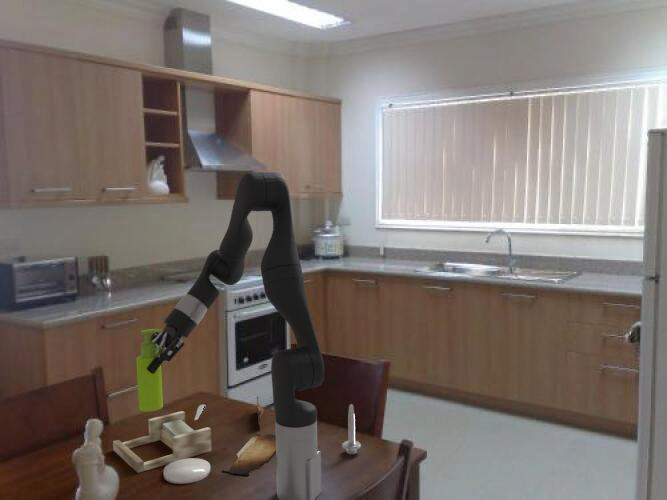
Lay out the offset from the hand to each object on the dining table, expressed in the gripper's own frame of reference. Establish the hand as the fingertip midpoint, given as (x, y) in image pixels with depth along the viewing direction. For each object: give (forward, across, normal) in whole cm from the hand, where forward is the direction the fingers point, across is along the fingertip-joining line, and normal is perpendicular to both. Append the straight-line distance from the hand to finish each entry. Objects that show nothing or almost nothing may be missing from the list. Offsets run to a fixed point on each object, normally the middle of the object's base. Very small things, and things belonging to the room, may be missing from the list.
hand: (144, 368), depth 154 cm
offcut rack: (+14, -3, +20) cm, 24 cm away
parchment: (+1, +15, +33) cm, 36 cm away
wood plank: (-9, -4, +42) cm, 44 cm away
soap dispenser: (+6, 0, +9) cm, 11 cm away
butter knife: (+2, -17, +32) cm, 36 cm away
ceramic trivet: (+14, +13, +20) cm, 27 cm away
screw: (-13, +30, +47) cm, 57 cm away
